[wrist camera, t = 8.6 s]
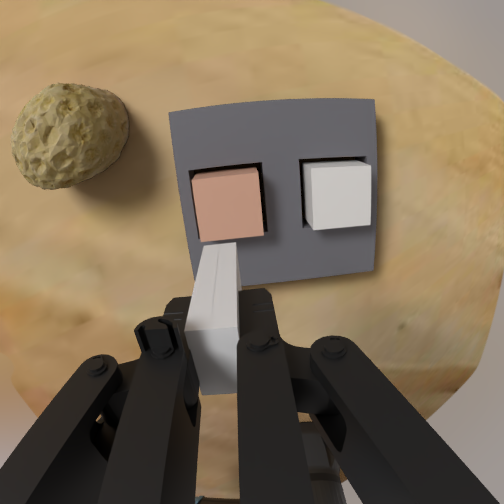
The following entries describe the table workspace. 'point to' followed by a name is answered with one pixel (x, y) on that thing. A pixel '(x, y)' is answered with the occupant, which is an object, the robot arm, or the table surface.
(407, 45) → the table surface
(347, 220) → the key soft
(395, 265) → the table surface
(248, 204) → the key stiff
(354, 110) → the key panel
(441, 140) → the table surface
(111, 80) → the table surface
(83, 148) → the rock
